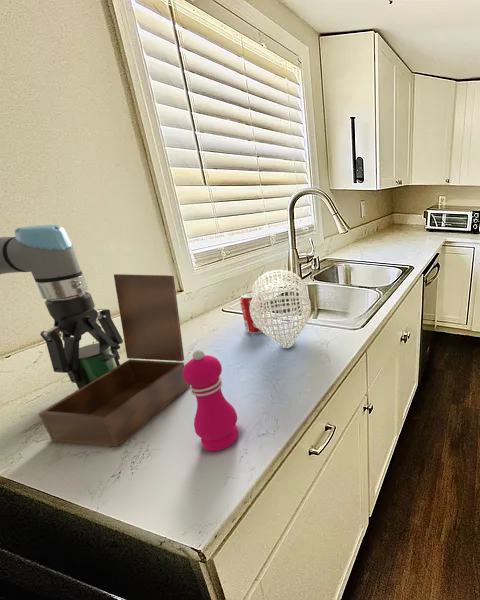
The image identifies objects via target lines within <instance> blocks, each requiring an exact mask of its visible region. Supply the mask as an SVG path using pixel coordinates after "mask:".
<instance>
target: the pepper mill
mask: <svg viewBox="0 0 480 600" xmlns="http://www.w3.org/2000/svg"><path fill="white" fill-rule="evenodd" d="M222 368H223V367H222V364H221V362H220V360H219V359H218V358H217V357H215V356H213V355H209V354H206V355H205V352H204V351H203V350H201V349H197V350H194V351H193V353H192V358H191V359H190V360H188V362H186V364H184V369H183V378H184V380H185V382H186V383H188V384H189V385H190V387H189V389H190V391H191V392H190V393H191V394H192V395H193V396H194V397H195V398H196V404H197V407H196V412H195V416H194V422H193V426H194V432H195V434H196V435H197V437H199V438H200V442H201V445H202V447H203V449H204V450H205V451H207V452H219V451H222V450H225V449H227V448H228V447H230V446H231V445H233V444H234V443H235V442H236V440H237V439H238V437H239V430H238V426H237V422H238V414H237V411H236V409H235V408H234V406H233V405H232V404H231V403H230V402H229V401H228V400H227V399H226V398H225V396H224V394H223V392H222V386H223V381H222V377H221V374H222V371H223V369H222Z"/></svg>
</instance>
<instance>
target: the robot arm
mask: <svg viewBox="0 0 480 600" xmlns="http://www.w3.org/2000/svg"><path fill="white" fill-rule="evenodd" d="M77 257H78V256H77V255H76V252H75V248H74V243H73V242H72V241H71V238H70V237H69V235H68V233H67V231H66V229H65V228H64V227H63V226H61V225H59V224H41V225H40V224H39V225H29V226H20V227H17V228H16V229H14V236H0V275H4V274H13V273H31V275H32V278H33V279H34V281H35V284H36V286H37V289H38V291H39V294H40V297H41V298H42V299H43V300H45V301H44V304H45V307H46V309H47V311H48V313H49V315H50V317H51V318H52V319H53V321H54V322H53V326H52V327H51V328H50V329H48V330H42V331H41V332H40V333H39V334H40V337H41V338H42V339H43V340H44V341H45V343H46V344H45V345H46V348H47V351H48V356H49V358H50V362H51V366H52V369H53V372H55V373H58V374H59V373H61V374H67V376H68V378H69V380H70V382H71V383H73V384H75V385H76V387H77V390H79V389H80V388H82V387H84V386H85V385H87V384H89V383H90V382H89V380H88V378H87V375H86V373H85V371H84V368H82V367H79V348H80V342H81V340H82V336H83V335H84V334H86V333H88V334H90V336H91V337H92V338H94V339H95V340H96V342H97V343H109V344H110V345H111V351H112V353H115V355H116V357H114V359H115V362H116V365H117V366H119V365H121V363H120V361H119V360H120V359H121V356H120V354H119V351H118V350H120V349H121V345H122V344H123V343H124V339H123V338H122V336H121V334H120V332H119V330H118V328H117V326H116V324H115V322H114V321H113V319H112V315H111V310H110V309H106V308H98V309H97V310H96V309H95V308H96V307H95V306H96V304H95V302H94V300H93V296H92V294H91V293H90V292H88V291H89V290H90V289H89V286H88V284H87V281H86V279H85V276H84V274H83V271H82V269H81V266H80V264H79V260H78V258H77ZM97 321H98V322H97ZM99 324H100V325H99ZM60 332H61V333H60Z"/></svg>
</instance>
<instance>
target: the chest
mask: <svg viewBox="0 0 480 600" xmlns="http://www.w3.org/2000/svg"><path fill="white" fill-rule="evenodd" d="M184 366H185V363H184V362H183V361H166V360H148V359H128V360H125V361H124V362H122V363H120V365H119V366H117V367H116V368H114V369H112V370H111V371H109V372H107V373H106V374H104V375H102V376H101V377H99V378H97V379H96V380H94V381H92V382H90V383H89V384H87V385H85V386H84V387H82V388H80V389H77V390H75V391H74V392H72V393H70V394H68V395H67V396H66V397H64V398H62V399H60V400H58V401H57V402H55V403H53V404H52V405H50V406H49V407H47V408H45V409H43V410H41V411H39V412H38V417H39V418H40V420H41V422H42V424H43V426H44V428H45V430H46V432H47V434H48V436H49V438H50V440H51V441H52V442H58V443H69V444H70V443H71V444H78V445H79V444H81V445H92V446H102V447H115V448H119V447H120V446H121V445H123V443H125V442H126V441H127V440H128V439H130V438H131V437H132V436H133V435H134V434H135V433H137V432H138V431H140V429H141V428H142V427H144V426H146V424H147V423H149V422H150V421H151V420H152V419H153V418H155V416H157V415H159V413H160V412H161V411H162V410H164V409H165V408H167V407H168V406H169V405H170V404H171V403H172V402H173V401H174V400H176V399H177V398H179V396H180V395H182V394H183V393H184V392H185V391H186V390H187V389H189V388H190V385H189V384H188V383H186V382H185V380H184V378H183V369H184Z"/></svg>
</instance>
